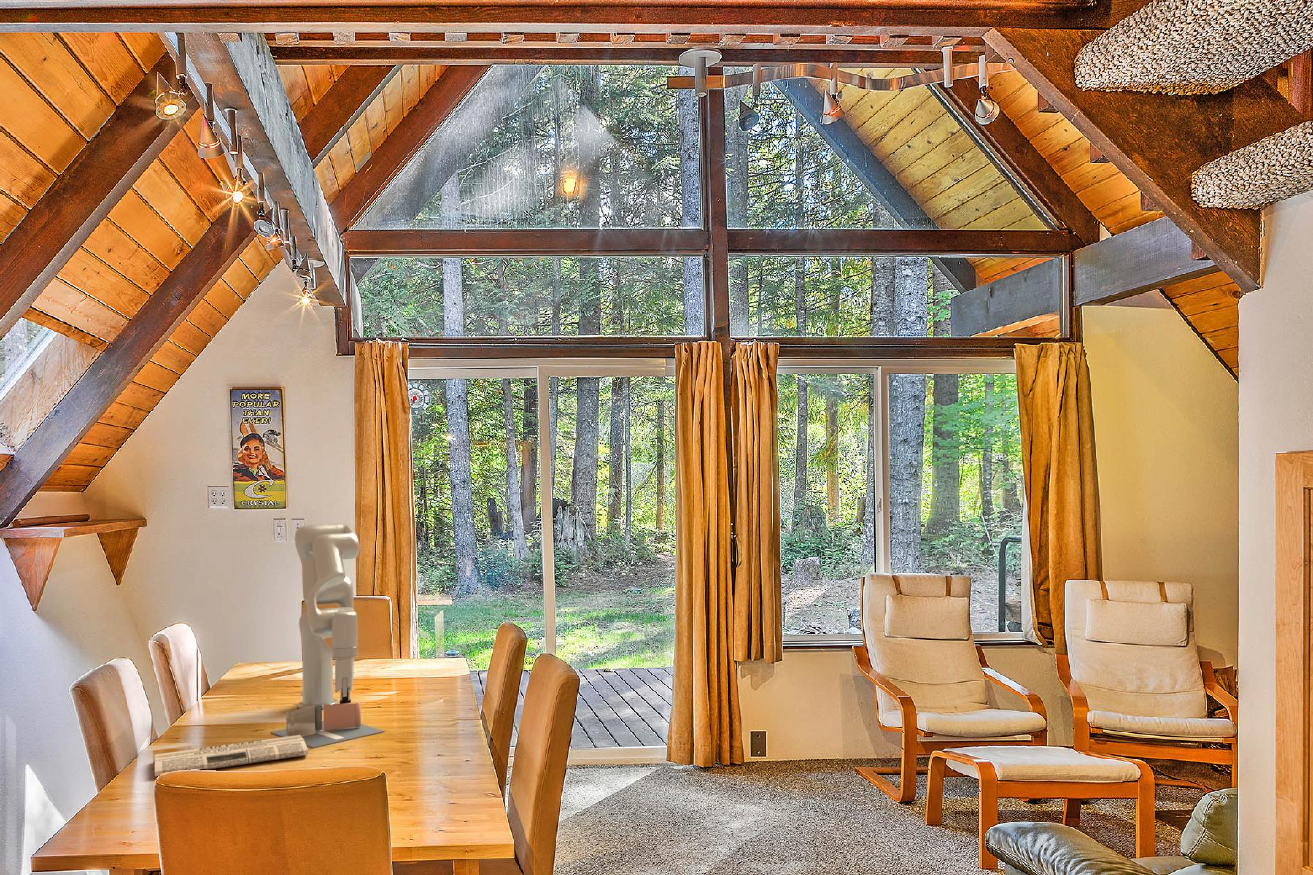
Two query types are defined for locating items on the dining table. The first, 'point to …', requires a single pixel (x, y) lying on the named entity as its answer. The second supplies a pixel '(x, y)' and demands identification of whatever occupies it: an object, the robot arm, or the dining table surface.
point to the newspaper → (231, 754)
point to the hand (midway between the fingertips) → (345, 713)
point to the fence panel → (338, 716)
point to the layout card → (333, 735)
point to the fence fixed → (300, 721)
